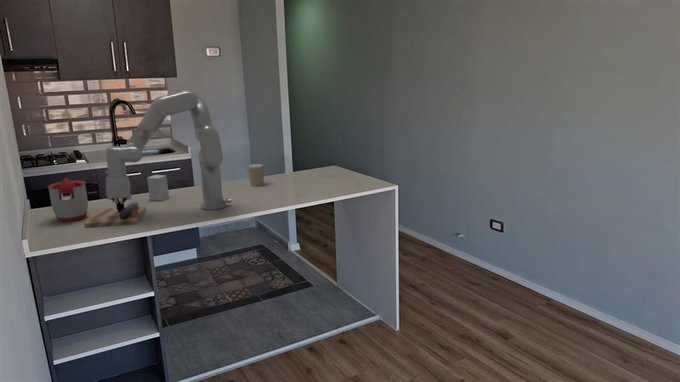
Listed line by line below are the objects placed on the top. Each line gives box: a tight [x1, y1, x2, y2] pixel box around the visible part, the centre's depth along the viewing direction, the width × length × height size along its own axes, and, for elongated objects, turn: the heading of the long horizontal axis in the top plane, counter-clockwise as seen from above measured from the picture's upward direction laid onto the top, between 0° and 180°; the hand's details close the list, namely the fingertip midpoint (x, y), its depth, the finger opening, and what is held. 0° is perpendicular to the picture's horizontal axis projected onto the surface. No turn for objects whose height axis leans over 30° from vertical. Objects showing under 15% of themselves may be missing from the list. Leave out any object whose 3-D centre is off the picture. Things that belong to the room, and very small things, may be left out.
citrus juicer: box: [47, 177, 89, 223], centre depth 226 cm, size 16×17×20 cm
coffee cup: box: [247, 163, 265, 188], centre depth 287 cm, size 9×9×12 cm
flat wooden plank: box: [83, 206, 147, 229], centre depth 227 cm, size 22×22×6 cm
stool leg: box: [119, 201, 140, 219], centre depth 228 cm, size 18×3×3 cm, turn 2°
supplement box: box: [146, 174, 170, 202], centre depth 259 cm, size 7×7×13 cm
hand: (120, 211), depth 226 cm, fingers closed
